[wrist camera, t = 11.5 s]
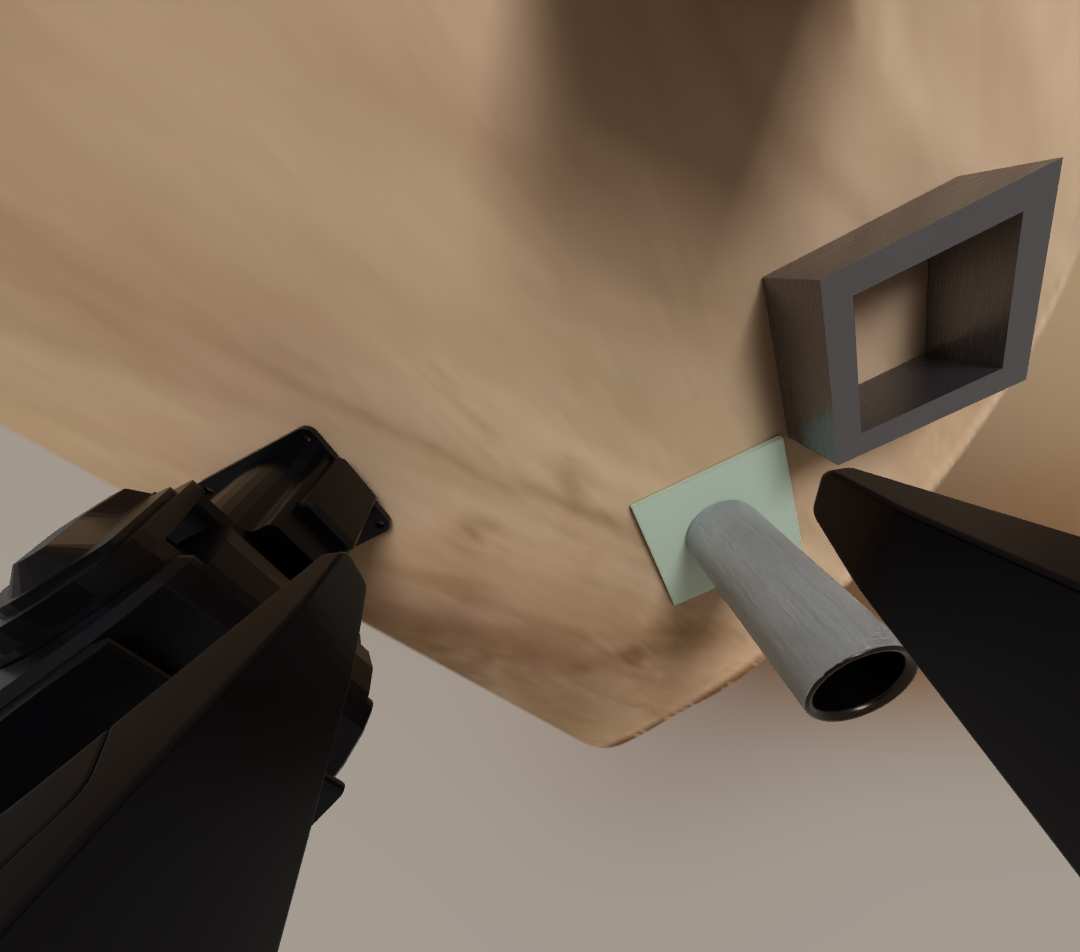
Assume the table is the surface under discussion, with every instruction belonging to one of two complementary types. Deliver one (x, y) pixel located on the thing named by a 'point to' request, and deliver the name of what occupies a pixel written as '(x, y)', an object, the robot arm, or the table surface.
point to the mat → (674, 508)
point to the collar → (952, 319)
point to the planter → (799, 615)
